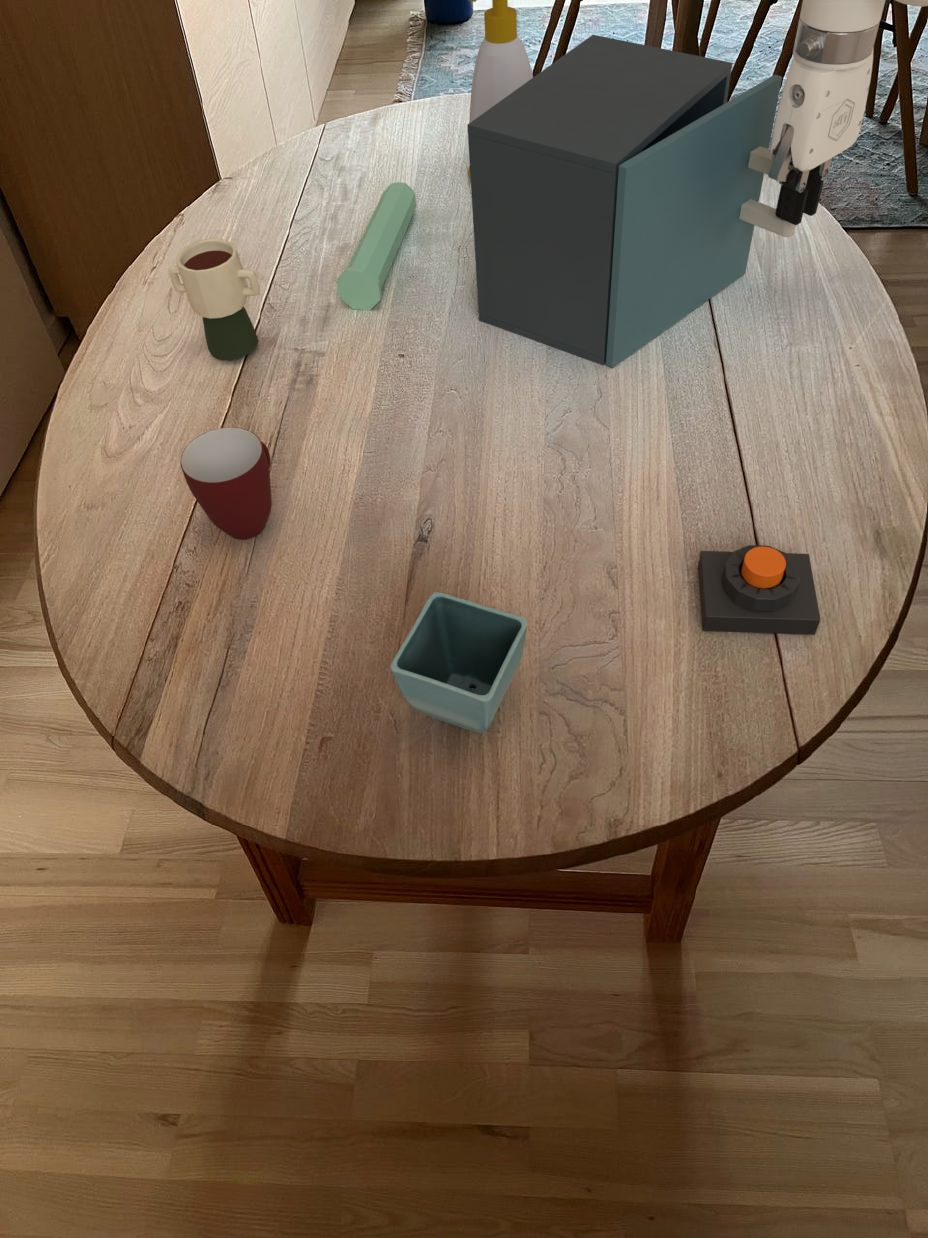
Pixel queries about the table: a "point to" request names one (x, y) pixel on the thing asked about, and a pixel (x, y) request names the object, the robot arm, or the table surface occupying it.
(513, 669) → the flower pot
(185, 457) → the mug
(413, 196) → the green octagonal rod
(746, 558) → the button
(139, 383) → the table surface
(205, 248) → the character mug
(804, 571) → the button block
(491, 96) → the soap bottle
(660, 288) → the door
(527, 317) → the cupboard
